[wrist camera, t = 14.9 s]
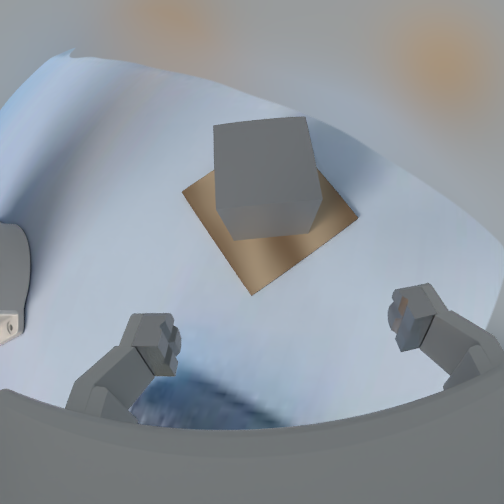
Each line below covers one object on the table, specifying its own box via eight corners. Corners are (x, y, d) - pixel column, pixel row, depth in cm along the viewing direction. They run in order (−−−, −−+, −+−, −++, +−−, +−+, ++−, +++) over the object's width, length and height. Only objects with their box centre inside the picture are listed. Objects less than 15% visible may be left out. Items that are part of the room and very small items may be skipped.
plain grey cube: (308, 233, 24) (322, 199, 17) (233, 240, 25) (215, 209, 17) (297, 168, 26) (305, 116, 18) (229, 174, 26) (213, 125, 18)
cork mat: (251, 295, 24) (251, 295, 24) (182, 193, 27) (181, 191, 26) (356, 219, 25) (358, 217, 24) (280, 131, 27) (280, 129, 27)
